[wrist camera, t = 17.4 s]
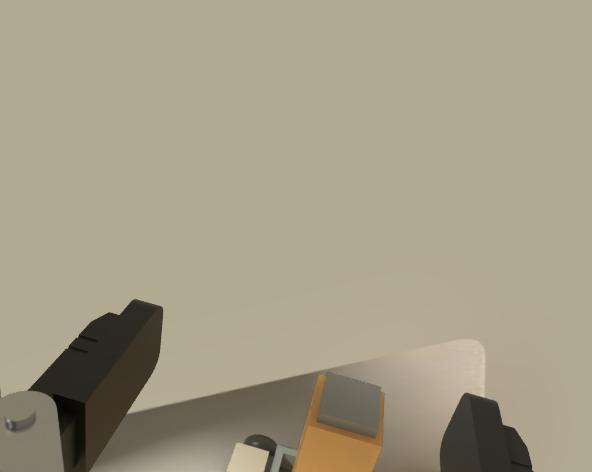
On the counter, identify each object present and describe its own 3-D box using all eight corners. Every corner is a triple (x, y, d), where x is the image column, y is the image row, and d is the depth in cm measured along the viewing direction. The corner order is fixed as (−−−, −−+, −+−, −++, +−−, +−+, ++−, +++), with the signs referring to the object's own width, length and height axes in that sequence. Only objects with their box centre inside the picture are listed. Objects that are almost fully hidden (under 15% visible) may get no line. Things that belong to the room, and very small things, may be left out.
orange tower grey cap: (338, 555, 35) (385, 437, 30) (276, 536, 36) (310, 416, 30) (345, 498, 39) (387, 384, 34) (288, 481, 40) (321, 365, 34)
